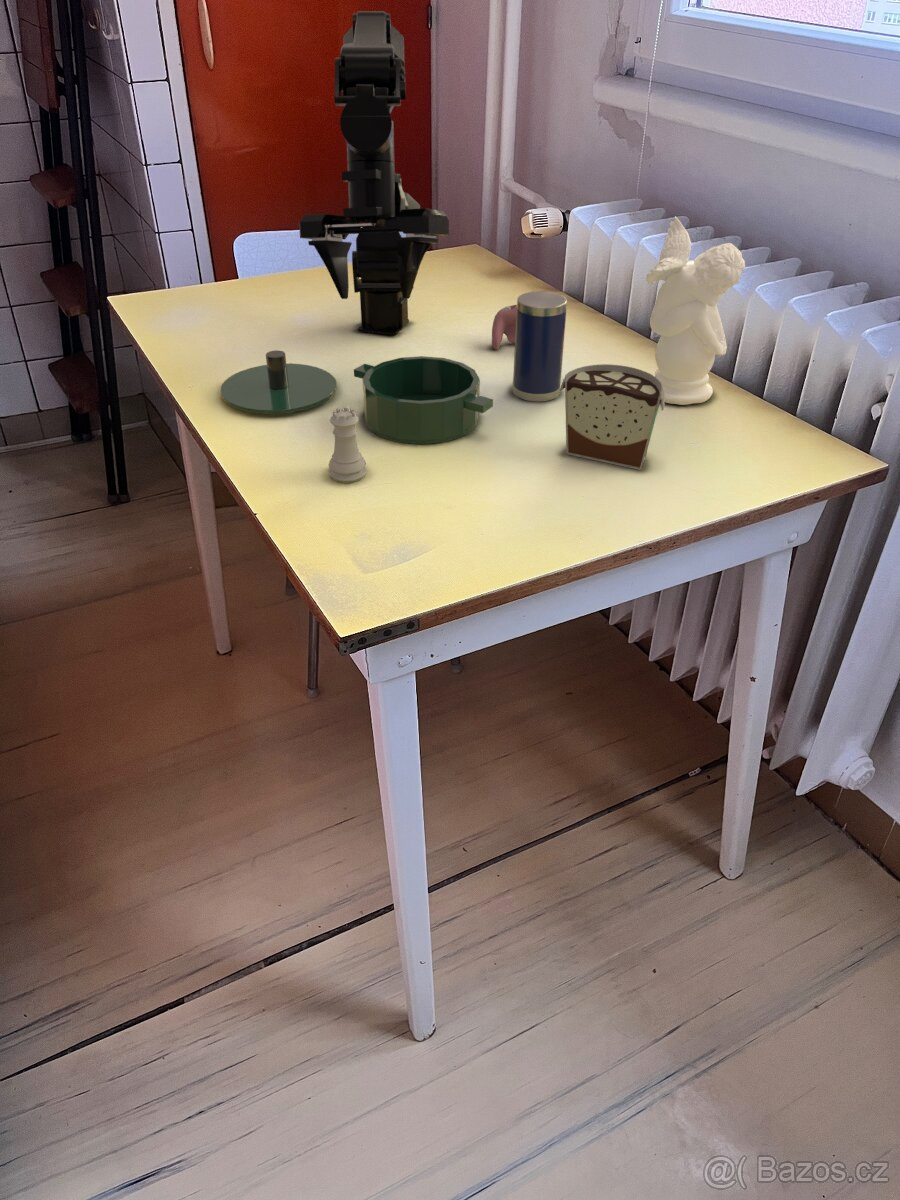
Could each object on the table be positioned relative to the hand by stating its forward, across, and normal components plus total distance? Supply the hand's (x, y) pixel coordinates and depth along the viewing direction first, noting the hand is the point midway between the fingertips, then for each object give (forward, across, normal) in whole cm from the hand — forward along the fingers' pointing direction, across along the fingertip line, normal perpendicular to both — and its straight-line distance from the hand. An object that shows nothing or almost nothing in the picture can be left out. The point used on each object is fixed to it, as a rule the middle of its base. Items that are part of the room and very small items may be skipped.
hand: (374, 298), depth 118 cm
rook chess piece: (+20, -5, +15) cm, 26 cm away
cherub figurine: (+13, -32, -23) cm, 41 cm away
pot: (+15, -6, -1) cm, 16 cm away
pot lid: (+12, +15, +2) cm, 19 cm away
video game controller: (+7, -8, -30) cm, 32 cm away
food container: (+18, -30, -5) cm, 36 cm away
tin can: (+12, -16, -16) cm, 25 cm away
